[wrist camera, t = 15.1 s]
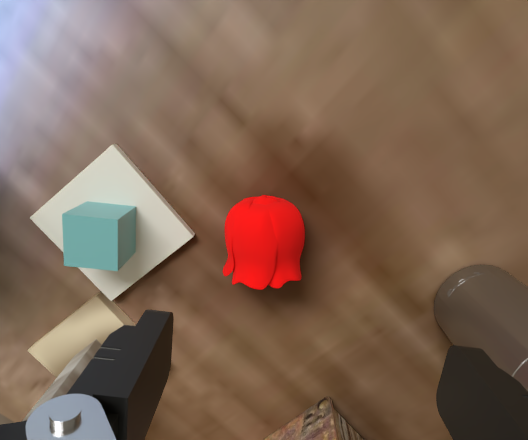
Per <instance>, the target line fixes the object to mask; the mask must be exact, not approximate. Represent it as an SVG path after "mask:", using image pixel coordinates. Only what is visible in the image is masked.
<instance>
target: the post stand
mask: <svg viewBox="0 0 528 440" xmlns="http://www.w3.org/2000/svg"><path fill="white" fill-rule="evenodd" d="M123 325H130V326H136V324H135V323H134V322H133V321H132V320H131V319H130V318H129V317H128V316H127V315H126V314H125V313H124V312H123V311H122V310H121V309H120V308H119V307H118V306H117V305H116V304H115V303H114V302H113V301H110V300H109V299H108V298H107V297H106V296H105V295H104V294H103V293H102V291H100V292H99V293H97V294H96V295H95V296H93V297H92V298H91V299H90V300H88V301H87V302H86V303H85V304H83V305H82V306H81V307H80V308H78V309H77V310H76V311H75V312H73V313H72V314H71V315H70V316H68V317H67V318H66V319H65V320H63V321H62V322H61V323H60V324H58V325H57V326H56V327H54V328H53V329H52V330H51V331H49V332H48V333H47V334H46V335H44V336H43V337H42V338H41V339H39V340H38V341H37V342H36V343H34V344H33V345H32V346H31V347H30V348H29V349H28V350H27V351H28V352H29V353H30V354H32V355H33V356H34V357H35V358H36V359H37V360H38V361H39V362H40V363H41V364H42V365H43V366H44V367H45V368H47V369H48V370H49V371H50V372H51V373H52V374H53V375H54V376H55V377H56V379H55V381H54V382H53V383H52V384H51V386H50V387H49V388H48V389H47V391H46V392H45V393H44V394H43V396H42V397H41V398H40V399H39V401H38V402H37V403H36V404H35V406H34V407H33V408H32V409H31V411H30V412H29V413H28V414H27V416H26V417H25V418H24V419H23V421H26V420H28V418H29V416H30V415H31V414H32V412H33V411H34V410H35V409H36V408H38V407H39V406H40V405H42V404H43V403H45V402H46V401H48V400H51V399H53V398H55V397H58V396H62V395H66V394H67V393H68V391H69V390H70V388H71V387H72V386H73V384H74V383H75V382H76V380H77V379H78V377H79V376H80V375H81V373H82V372H83V370H84V369H85V368H86V366H87V365H88V363H89V362H90V361H91V359H93V358H94V355H95V354H96V352H97V351H98V350H99V349H100V348H101V345H102V344H103V343H104V341H105V340H106V339H107V337H108V336H109V334H111V333H112V332H114V331H115V330H117V329H119V328H120V327H122V326H123Z"/></svg>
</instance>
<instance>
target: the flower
mask: <svg viewBox="0 0 528 440" xmlns="http://www.w3.org/2000/svg"><path fill="white" fill-rule="evenodd" d="M225 241H226V247H227V251H228V259H227V262H226V264H225V266H224V268H223V274H224V276H227V275H229V274H230V273H231V272H232V271H233V278H232V284H233V285H234V284H236V283H239V282H241V283H243V284H245V285H246V286H248V287H250V288H253V289H258V290H262V289H264V288H266V287H267V285H268V284H269V285H270V286H271V287H273V288H280V287H282V286H283V284H284V283H286V282H288V281H299V280H301V278H302V277H301V271H300V257H301V253H302V250H303V247H304V241H305V228H304V222H303V219H302V216H301V214H300V212H299V210H298V209H297V208H296V207H295V206H294V205H293V204H292V203H291V202H289V201H287V200H285V199H282V198H277V197H274V196H267V195H262V196H260V197H249V198H245V199H243V200H242V201H241V202H239V203H237V204H236V205H235V206H234V207H232V209H231V210H230V211H229V213H228V215H227V218H226V221H225Z"/></svg>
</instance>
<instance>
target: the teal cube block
mask: <svg viewBox="0 0 528 440" xmlns="http://www.w3.org/2000/svg"><path fill="white" fill-rule="evenodd" d="M62 227H63V251H64V266H71V267H81V268H91V269H101V270H111V271H118V270H119V269H120V268H121V267H122V266H123V265H124V264H125V263H126V262H127V261H128V260H129V259H130V258H131V257H132V256H133V255H134V253H135V252H136V206H128V205H118V204H109V203H99V202H89V201H87V202H85V203H83V204H81V205H79V206H77V207H75V208H73V209H71V210H69V211H67V212H65V213H63V214H62Z"/></svg>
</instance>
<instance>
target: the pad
mask: <svg viewBox="0 0 528 440" xmlns="http://www.w3.org/2000/svg"><path fill="white" fill-rule="evenodd" d="M87 201H89V202H99V203H109V204H118V205H128V206H136V252H135V253H134V255H133V256H132V257H131V258H130V259H129V260H128V261H127V262H126V263H125V264H124V265H123V266H122V267H121V268H120V269H119V270H118V271H111V270H101V269H91V268H81V267H78V268H79V269H80V270H81V271H82V272H83V273H84V274H85V275H86V276H87V277H88V278H89V279H90V280H91V281H92V282H93V283H94V284H95V285H96V286H97V287H98V288H99V289H100V290H101V291H102V293H103V294H104V295H105V296H106V297H107V298H108V299H109V300H110V301H112V300H113V299H114V298H116V297H117V296H118V295H120V294H121V293H122V292H123V291H125V290H126V289H127V288H129V287H130V286H131V285H132V284H134V283H135V282H136V281H138V280H139V279H140V278H141V277H143V276H144V275H145V274H146V273H148V272H149V271H150V270H152V269H153V268H154V267H155V266H157V265H158V264H159V263H161V262H162V261H163V260H164V259H166V258H167V257H168V256H169V255H171V254H172V253H173V252H175V251H176V250H177V249H178V248H180V247H181V246H182V245H184V244H185V243H186V242H187V241H189V240H190V239H191V238H192V237H194V235H195V233H194V232H193V231H192V229H191V228H190V227H189V226H188V225H187V224H186V223H185V221H184V220H183V219H182V218H181V217H180V216H179V215H178V213H177V212H176V211H175V210H174V209H173V208H172V207H171V205H170V204H169V203H168V202H167V201H166V200H165V199H164V197H163V196H162V195H161V194H160V193H159V192H158V191H157V189H156V188H155V187H154V186H153V185H152V184H151V183H150V181H149V180H148V179H147V178H146V177H145V176H144V175H143V173H142V172H141V171H140V170H139V169H138V168H137V167H136V166H135V164H134V163H133V162H132V161H131V160H130V159H129V158H128V156H127V155H126V154H125V153H124V152H123V151H122V150H121V148H120V147H119V146H118V145H117V144H113V145H111V146H110V147H109V148H108V149H107V150H106V151H105V152H103V153H102V154H101V155H100V156H99V157H98V158H97V159H96V160H94V161H93V162H92V163H91V164H90V165H89V166H88V167H86V168H85V169H84V170H83V171H82V172H81V173H80V174H79V175H77V176H76V177H75V178H74V179H73V180H72V181H71V182H70V183H68V184H67V185H66V186H65V187H64V188H63V189H62V190H60V191H59V192H58V193H57V194H56V195H55V196H54V197H53V198H51V199H50V200H49V201H48V202H47V203H46V204H45V205H44V206H42V207H41V208H40V209H39V210H38V211H37V212H36V213H35V214H33V215H32V216H31V217H30V219H31V220H32V221H33V222H34V223H35V224H36V225H37V226H38V227H39V228H40V229H41V230H42V231H43V232H44V233H45V234H46V235H47V236H48V237H49V238H50V239H51V240H52V241H53V242H54V243H55V244H56V245H57V246H58V247H59V248H60V249H61V250H62V252H63V253H64V251H63V227H62V214H63V213H65V212H67V211H69V210H71V209H73V208H75V207H77V206H79V205H81V204H83V203H85V202H87Z"/></svg>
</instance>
